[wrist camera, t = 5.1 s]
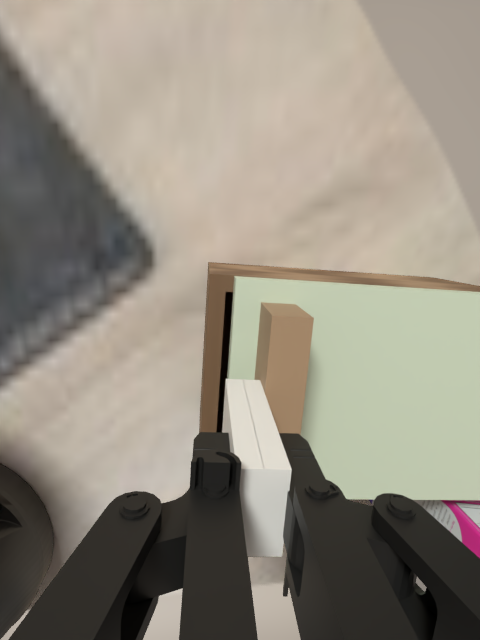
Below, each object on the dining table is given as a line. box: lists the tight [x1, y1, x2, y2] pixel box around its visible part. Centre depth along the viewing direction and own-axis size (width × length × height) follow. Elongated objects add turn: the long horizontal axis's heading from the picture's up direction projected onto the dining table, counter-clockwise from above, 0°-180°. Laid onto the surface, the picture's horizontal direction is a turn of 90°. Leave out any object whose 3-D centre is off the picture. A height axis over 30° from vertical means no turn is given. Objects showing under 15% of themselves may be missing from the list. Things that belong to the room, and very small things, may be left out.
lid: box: [227, 276, 480, 500], centre depth 18 cm, size 16×11×4 cm
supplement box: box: [369, 499, 480, 558], centre depth 25 cm, size 6×6×12 cm
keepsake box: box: [199, 262, 480, 433], centre depth 24 cm, size 16×11×8 cm
